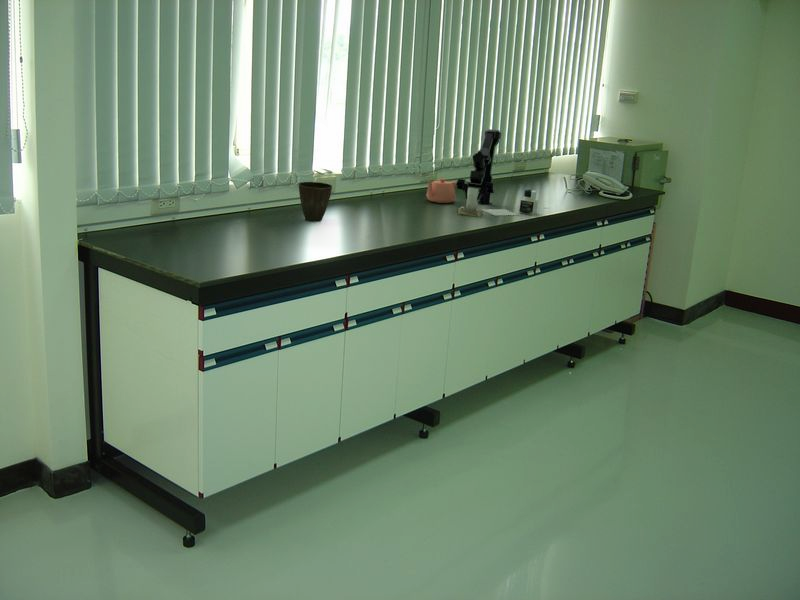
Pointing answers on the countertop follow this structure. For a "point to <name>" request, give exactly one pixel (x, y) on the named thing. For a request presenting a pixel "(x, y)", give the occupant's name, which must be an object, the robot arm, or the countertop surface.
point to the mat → (500, 212)
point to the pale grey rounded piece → (472, 198)
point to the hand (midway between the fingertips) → (471, 199)
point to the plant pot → (314, 199)
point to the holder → (470, 212)
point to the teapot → (441, 191)
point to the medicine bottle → (529, 203)
